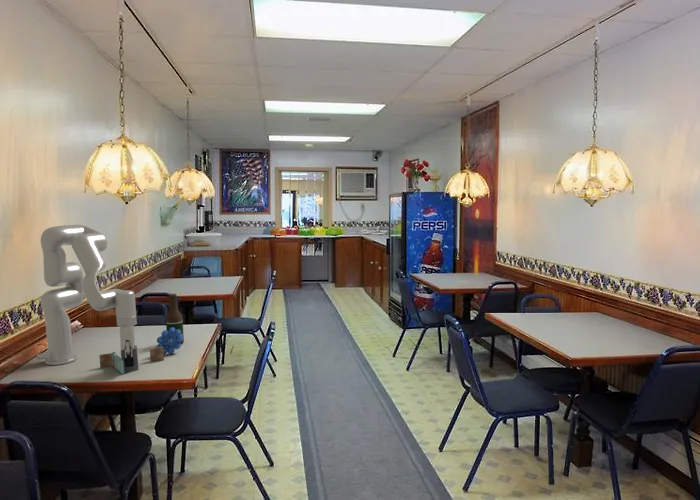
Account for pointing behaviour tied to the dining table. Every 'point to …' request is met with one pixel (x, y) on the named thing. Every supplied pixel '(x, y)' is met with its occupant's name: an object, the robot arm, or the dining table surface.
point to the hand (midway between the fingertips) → (129, 363)
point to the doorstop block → (135, 357)
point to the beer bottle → (174, 316)
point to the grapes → (170, 340)
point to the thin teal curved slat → (118, 363)
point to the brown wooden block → (107, 359)
